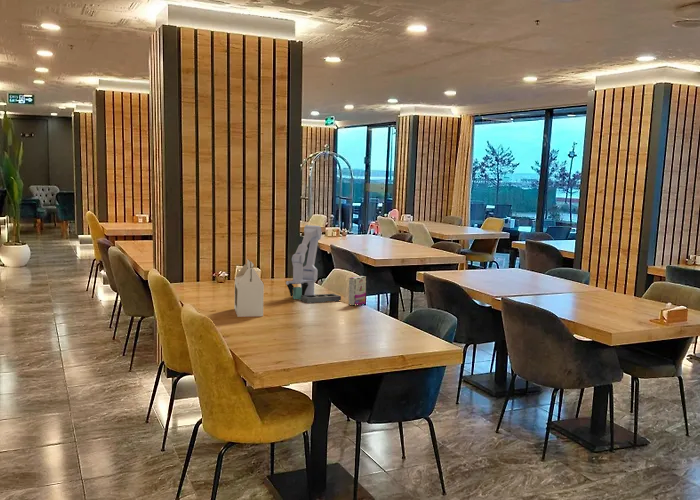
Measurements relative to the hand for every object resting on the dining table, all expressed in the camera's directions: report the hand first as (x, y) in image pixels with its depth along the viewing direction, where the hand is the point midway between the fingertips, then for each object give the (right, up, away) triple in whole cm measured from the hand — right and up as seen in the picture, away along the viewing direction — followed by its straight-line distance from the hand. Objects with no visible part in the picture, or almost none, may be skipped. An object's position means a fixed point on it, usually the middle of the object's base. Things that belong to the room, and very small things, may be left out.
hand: (297, 295), depth 383 cm
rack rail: (+14, -3, -3) cm, 15 cm away
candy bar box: (+36, -5, -12) cm, 38 cm away
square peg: (0, -2, 0) cm, 2 cm away
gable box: (-23, -6, -45) cm, 50 cm away
